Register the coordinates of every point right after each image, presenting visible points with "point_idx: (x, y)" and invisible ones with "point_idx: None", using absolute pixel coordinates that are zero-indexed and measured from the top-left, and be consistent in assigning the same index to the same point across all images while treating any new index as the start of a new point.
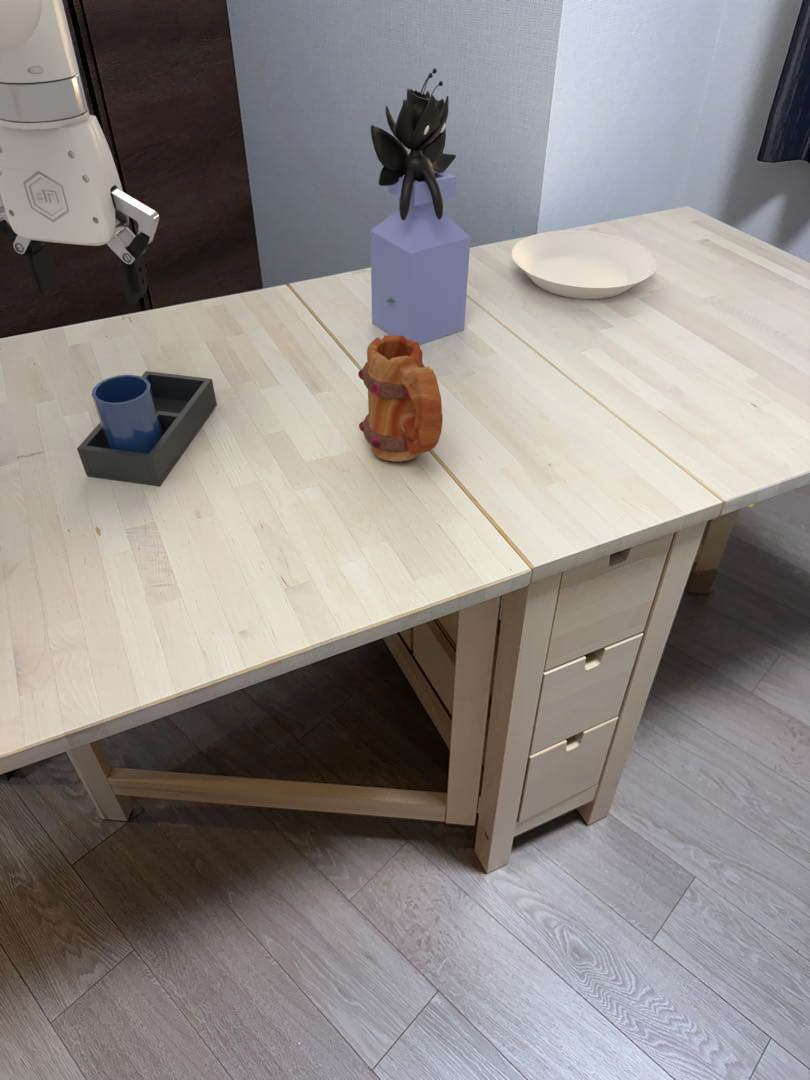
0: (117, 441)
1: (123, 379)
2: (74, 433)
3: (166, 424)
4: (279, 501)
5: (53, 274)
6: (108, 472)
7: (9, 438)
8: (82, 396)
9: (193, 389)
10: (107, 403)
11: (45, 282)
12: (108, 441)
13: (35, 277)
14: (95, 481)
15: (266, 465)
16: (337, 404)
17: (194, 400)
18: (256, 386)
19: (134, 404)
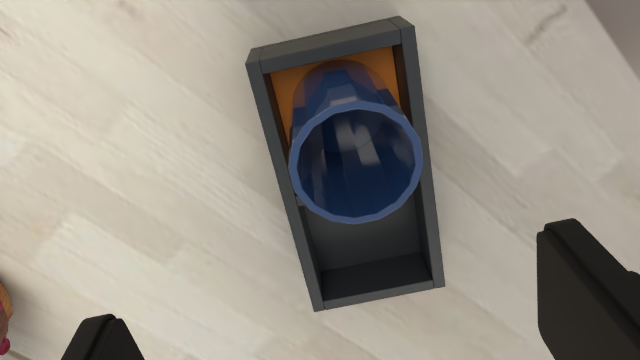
0: (339, 74)
1: (386, 203)
2: (502, 114)
3: None
4: (30, 104)
5: (559, 350)
6: (350, 29)
7: (616, 50)
8: (553, 208)
9: (345, 283)
10: (346, 104)
11: (556, 285)
12: (367, 74)
13: (593, 273)
14: (374, 9)
15: (123, 178)
16: None
17: (299, 249)
18: (285, 338)
19: (295, 135)
